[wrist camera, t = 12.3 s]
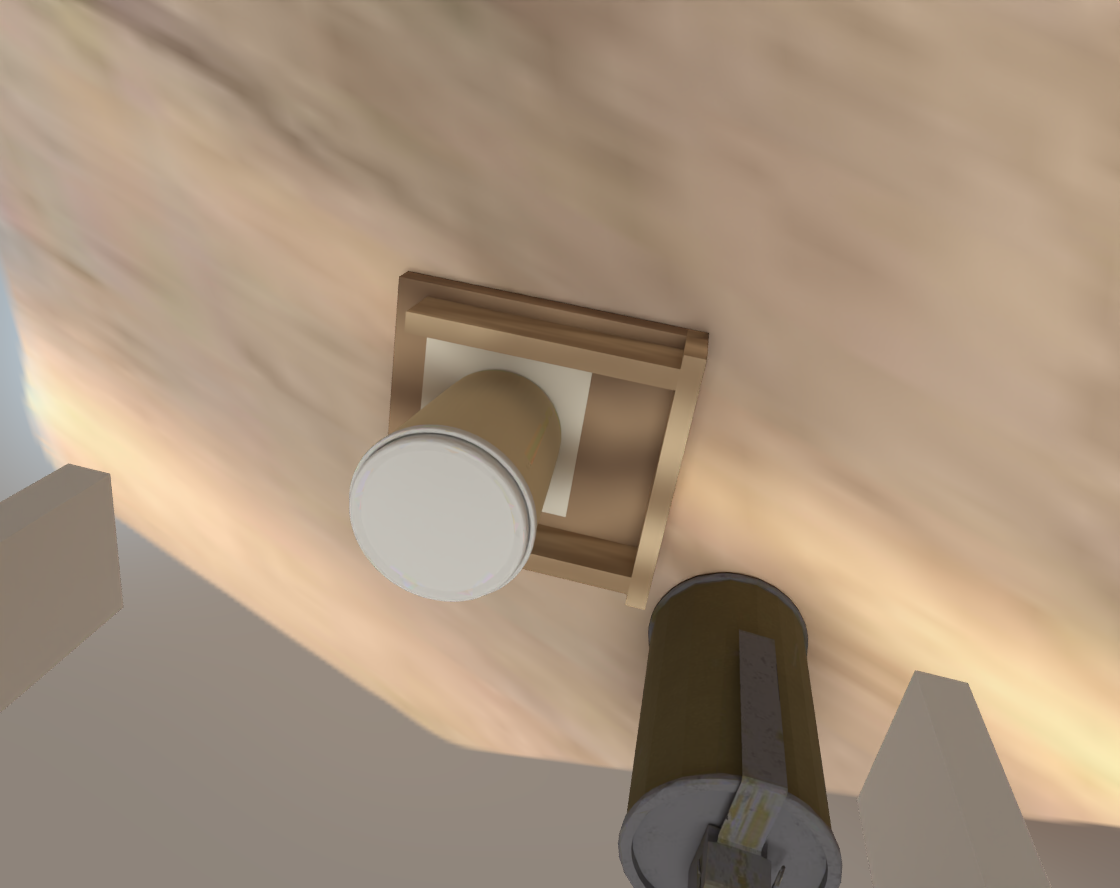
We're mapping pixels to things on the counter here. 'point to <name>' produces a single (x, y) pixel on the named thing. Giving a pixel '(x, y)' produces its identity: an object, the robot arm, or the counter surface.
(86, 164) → the counter surface
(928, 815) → the robot arm
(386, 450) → the coffee cup
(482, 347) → the dock
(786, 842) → the canister
